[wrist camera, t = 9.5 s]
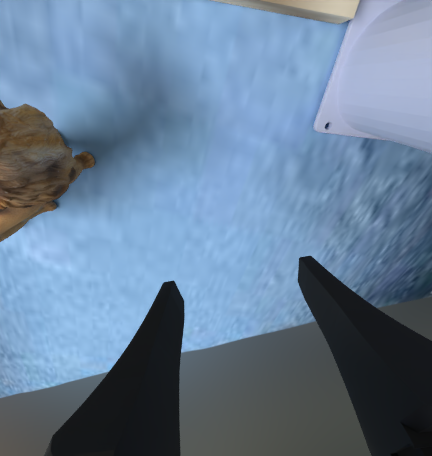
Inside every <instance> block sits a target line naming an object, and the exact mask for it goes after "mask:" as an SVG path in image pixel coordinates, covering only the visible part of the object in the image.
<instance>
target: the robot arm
mask: <svg viewBox="0 0 432 456" xmlns="http://www.w3.org/2000/svg"><path fill="white" fill-rule="evenodd" d="M328 122H329V126H328V128H326V129H325V125H326V123H328ZM313 127H314V130H315V131H317V132H321V133H330V134H338V135H346V136H355V137H363V138H371V139H380V140H388V141H393V142H397V143H400V144H403V145H406V146H409V147H413V148H416V149H419V150H422V151H425V152H429V153H432V0H360V1H359V4H358V7H357V10H356V12H355V15H354V18H353V19H350V22H349V25H348V28H347V31H346V33H345V36H344V39H343V42H342V45H341V48H340V51H339V53H338V56H337V59H336V62H335V65H334V68H333V71H332V73H331V76H330V79H329V82H328V85H327V88H326V90H325V93H324V96H323V99H322V102H321V105H320V108H319V110H318V113H317V116H316V119H315V122H314V126H313ZM298 283H299V286H300V288H301V291H302V293H303V296H304V298H305V300H306V302H307V304H308V306H309V308H310V310H311V312H312V314H313V316H314V318H315V319H316V321H317V323H318V325H319V327H320V329H321V330H322V332H323V334H324V336H325V338H326V341H327V342H328V344H329V347H330V349H331V352H332V354H333V356H334V359H335V361H336V363H337V366H338V368H339V371H340V373H341V376H342V378H343V381H344V383H345V386H346V388H347V391H348V393H349V396H350V398H351V401H352V404H353V406H354V409H355V411H356V415H357V417H358V420H359V423H360V426H361V428H362V431H363V434H364V437H365V439H366V442H367V445H368V448H369V451H370V453H371V455H372V456H432V341H430V340H429V339H427V338H425V337H423V336H422V335H420V334H418V333H416V332H415V331H413V330H411V329H409V328H408V327H406V326H404V325H402V324H401V323H399V322H397V321H396V320H394V319H393V318H391V317H389V316H388V315H386V314H385V313H383V312H382V311H380V310H378V309H377V308H376V307H374V306H373V305H371V304H370V303H368V302H367V301H366V300H364V299H363V298H361V297H360V296H359V295H357V294H356V293H355V292H353V291H352V290H351V289H349V288H348V287H347V286H346V285H344V284H343V283H342V282H341V281H339V280H338V279H337V278H336V277H335V276H333V275H332V274H331V273H330V272H329V271H327V270H326V269H325V268H324V267H323V266H322V265H321V264H320V263H318V262H317V261H316V260H315V259H314V258H313V257H312V256H306V257H300V258H299V271H298ZM183 328H184V300H183V298H182V296H181V294H180V292H179V290H178V288H177V286H176V284H175V282H174V281H169V282H164V283H163V284H162V287H161V289H160V291H159V293H158V295H157V297H156V299H155V301H154V302H153V304H152V306H151V308H150V310H149V312H148V314H147V315H146V317H145V319H144V321H143V323H142V324H141V326H140V328H139V329H138V331H137V333H136V334H135V336H134V337H133V339H132V341H131V342H130V344H129V345H128V347H127V348H126V350H125V351H124V352H123V354H122V355H121V357H120V358H119V359H118V361H117V362H116V363H115V365H114V366H113V367H112V369H111V370H110V371H109V373H108V374H107V375H106V377H105V378H104V379H103V380H102V382H101V383H100V384H99V385H98V386H97V387H96V389H95V390H94V391H93V392H92V393H91V395H90V396H89V397H88V398H87V400H86V401H85V402H84V403H83V404H82V405H81V406H80V407H79V408H78V410H77V411H76V412H75V413H74V414H73V415H72V416H71V417H70V418H69V419H68V420H67V421H66V422H65V423H64V425H63V426H62V427H61V428H60V429H59V430H58V431H57V432H56V433H55V434H54V435H53V437H52V439H51V441H50V443H49V446H48V448H47V450H46V453H45V455H44V456H180V431H179V369H180V356H181V347H182V337H183Z"/></svg>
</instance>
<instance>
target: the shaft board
mask: <svg viewBox="0 0 432 456" xmlns="http://www.w3.org/2000/svg"><path fill="white" fill-rule="evenodd" d="M211 1H217V2H222V3H227V4H233V5H238V6H243V7H249V8H254V9H259V10H265V11H270V12H275V13H281V14H286V15H292V16H297V17H302V18H308V19H313V20H318V21H324V22H329V23H334V24H341V23H343V22H346V21H348V20H350V19H353V18H354V15H355V12H356V10H357V7H358V4H359V1H360V0H211Z"/></svg>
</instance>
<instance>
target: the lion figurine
mask: <svg viewBox="0 0 432 456" xmlns="http://www.w3.org/2000/svg"><path fill="white" fill-rule="evenodd" d="M94 165H95V160H94V158H93V156H92V155H91V154H89V153H87V152H82V153H80V154H79V155H76V156H75V157H74V158H73V157H72V149H71V148H69V147H68V146H66V144H64V141H63V139H62V137H61V135H60V133H59V132H58V130H57V129H56V128H54V126H53V122H52V121H51V120H50V119H49V118H48V117H46V115H45V114H44V113H43V112H41V111H39V110H38V109H36V108H34V107H32V106H30V105H27V104H24V105H22V106H20V107H16V108H11V109H8V108H6V107H5V106H4V105H3V103H2V102H1V101H0V242H1V241H3V240H4V239H6V238H8V237H9V236H11V235H12V234H14V233H15V232H17V231H18V230H19V229H20V228H22V227H23V226H24V225H25V224H26V223H27V222H28V221H29V220H30V219H31V218H33V217H35V216H37V215H39V214H41V213H43V212H47V211H53V210H55V209H56V203H54V202H53V201H52V200H55V199H58V198H59V197H60V196H61V195H62V194H63V193H65V192H66V191H67V189H68V187H69V184H71V183H73V182H74V181H75V180H76V179H77V177H78V176H79V175H80V173H81V172H82V170H84V169H86V168H91V167H93V166H94Z"/></svg>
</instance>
